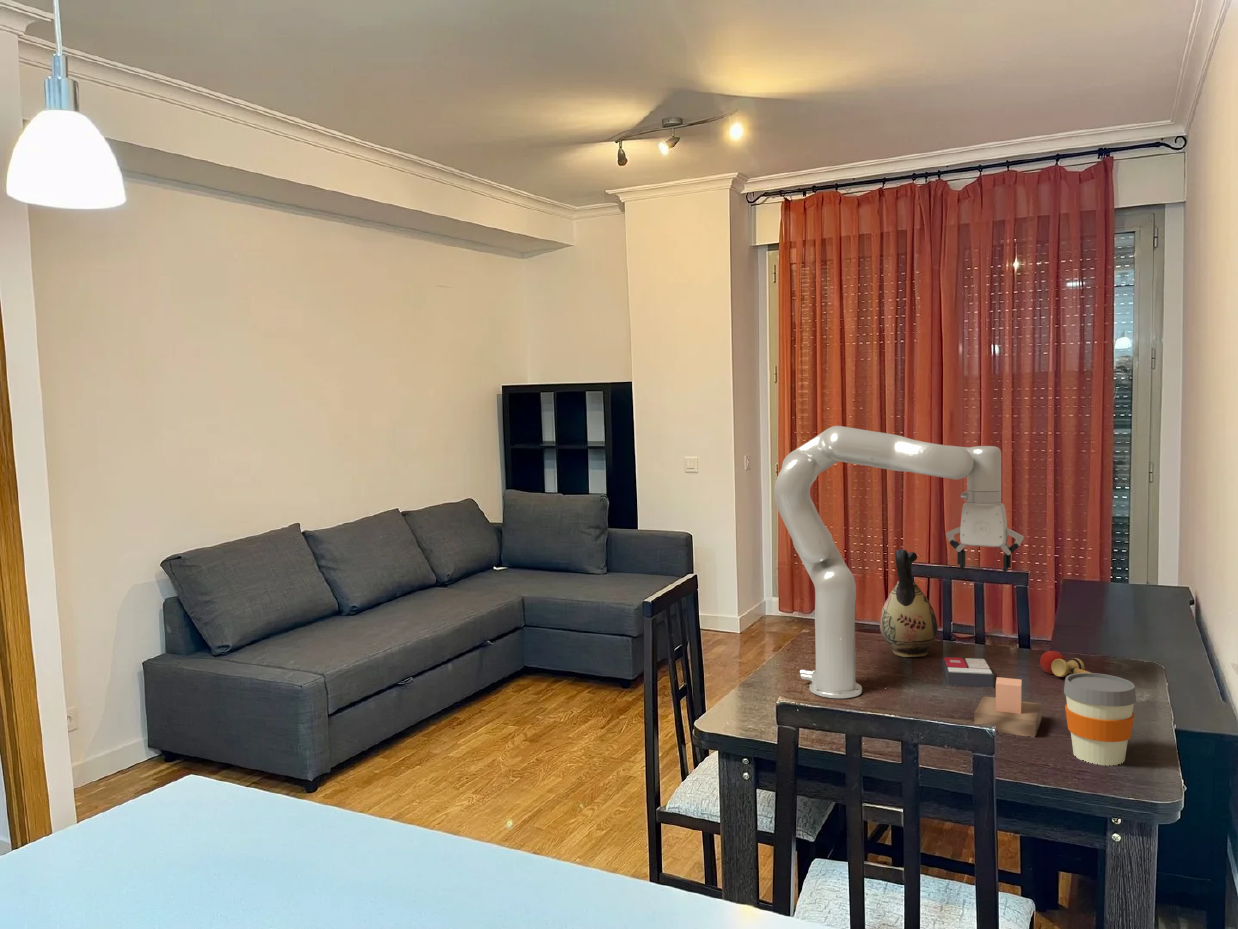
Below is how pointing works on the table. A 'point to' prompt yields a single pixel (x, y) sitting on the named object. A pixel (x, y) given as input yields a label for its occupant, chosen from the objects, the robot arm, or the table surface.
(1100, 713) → the reusable coffee cup
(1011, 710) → the block
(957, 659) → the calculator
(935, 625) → the ceramic jug
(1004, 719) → the base
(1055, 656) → the kendama
